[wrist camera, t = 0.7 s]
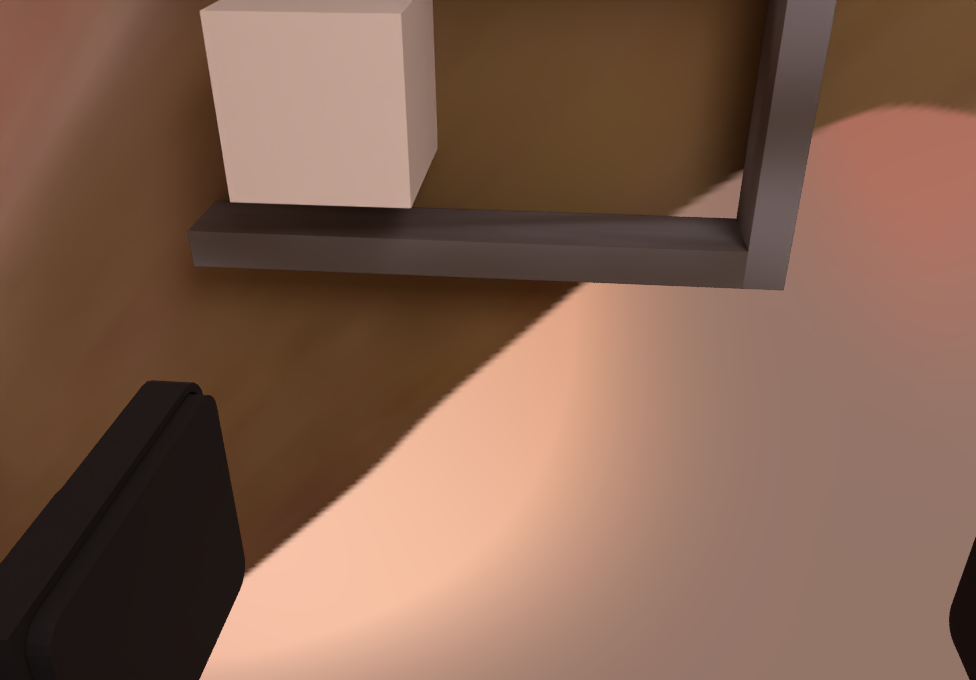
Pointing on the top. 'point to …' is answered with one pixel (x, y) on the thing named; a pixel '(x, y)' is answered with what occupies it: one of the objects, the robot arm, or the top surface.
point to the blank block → (323, 99)
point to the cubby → (571, 236)
